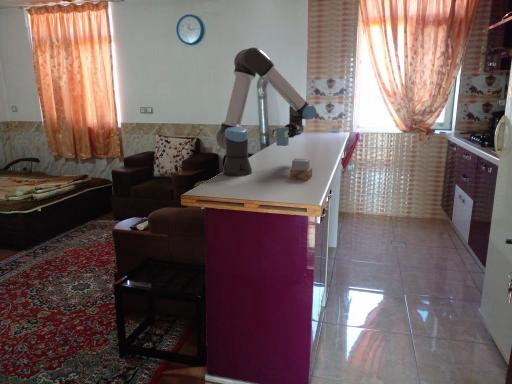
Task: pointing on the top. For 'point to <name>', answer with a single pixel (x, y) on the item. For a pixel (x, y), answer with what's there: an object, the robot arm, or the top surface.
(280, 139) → the column block
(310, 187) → the top surface
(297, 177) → the tower base
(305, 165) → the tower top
